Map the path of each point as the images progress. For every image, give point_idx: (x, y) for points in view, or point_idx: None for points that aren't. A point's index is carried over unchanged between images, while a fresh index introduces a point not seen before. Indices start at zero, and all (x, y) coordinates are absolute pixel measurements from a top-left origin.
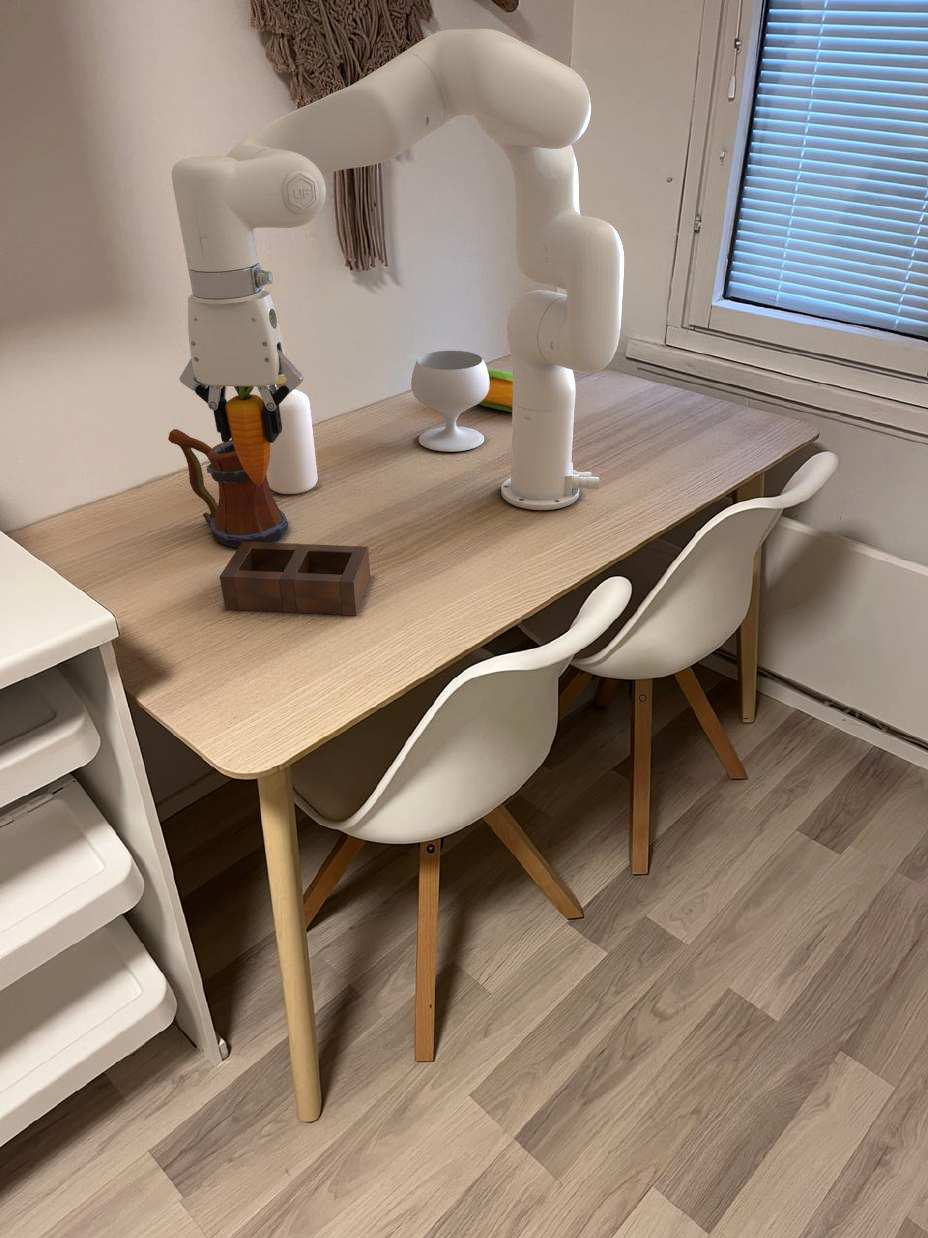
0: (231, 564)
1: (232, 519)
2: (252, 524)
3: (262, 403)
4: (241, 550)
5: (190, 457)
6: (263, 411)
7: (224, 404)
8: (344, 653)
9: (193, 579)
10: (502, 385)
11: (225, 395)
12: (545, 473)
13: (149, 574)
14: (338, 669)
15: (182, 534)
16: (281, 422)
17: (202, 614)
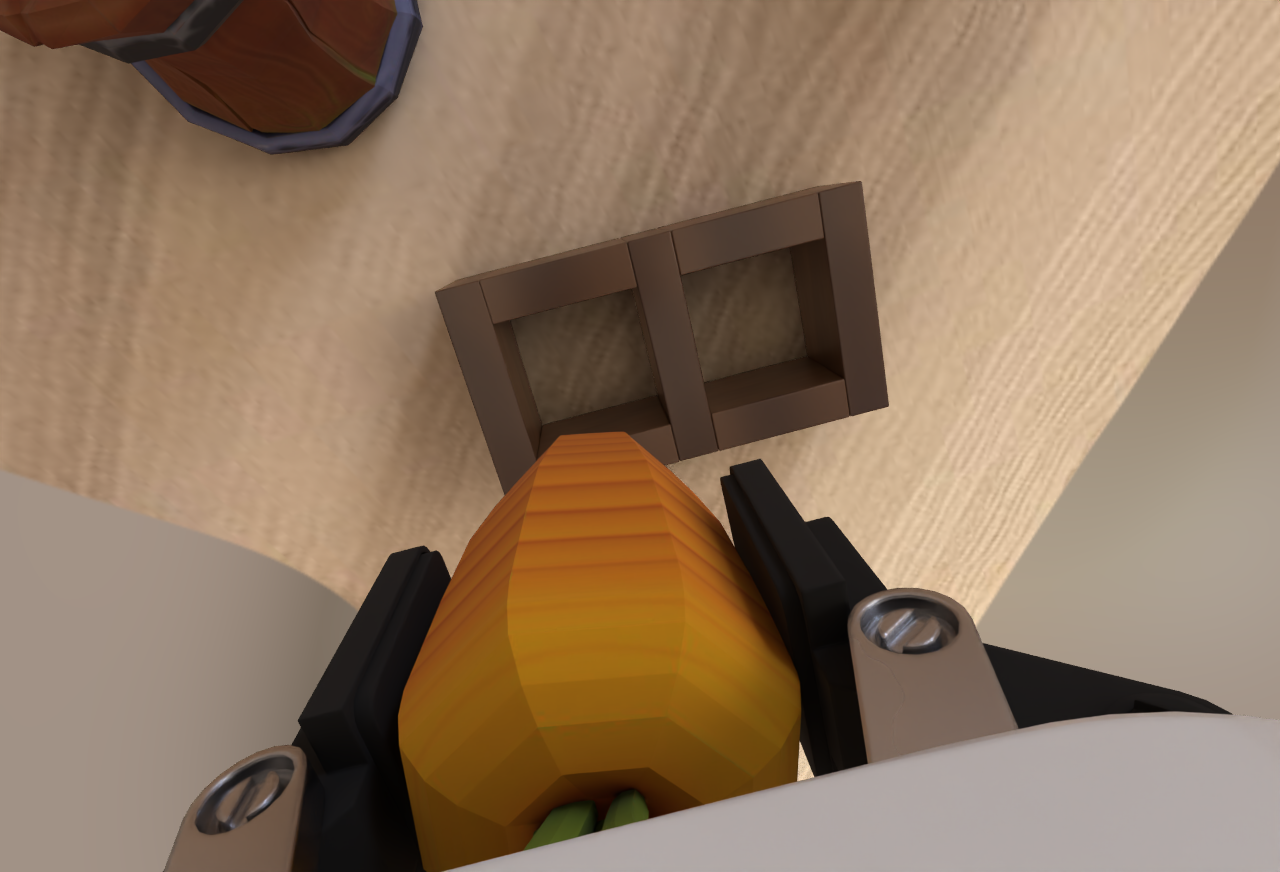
0: (498, 437)
1: (257, 106)
2: (337, 86)
3: (796, 754)
4: (472, 350)
5: None
6: (822, 774)
7: (389, 832)
8: (870, 520)
9: (330, 364)
10: None
11: (307, 806)
12: None
13: (186, 383)
14: (877, 570)
15: (53, 103)
16: (841, 532)
17: (477, 501)
